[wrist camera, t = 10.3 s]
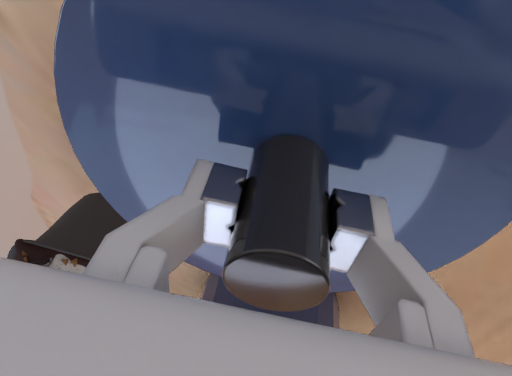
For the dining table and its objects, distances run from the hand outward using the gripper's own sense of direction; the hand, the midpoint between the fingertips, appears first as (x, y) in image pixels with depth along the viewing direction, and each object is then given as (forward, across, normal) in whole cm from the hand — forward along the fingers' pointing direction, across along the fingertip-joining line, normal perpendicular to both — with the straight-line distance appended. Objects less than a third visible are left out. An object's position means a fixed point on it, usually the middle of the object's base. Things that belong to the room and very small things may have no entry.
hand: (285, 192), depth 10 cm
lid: (+2, 0, 0) cm, 2 cm away
